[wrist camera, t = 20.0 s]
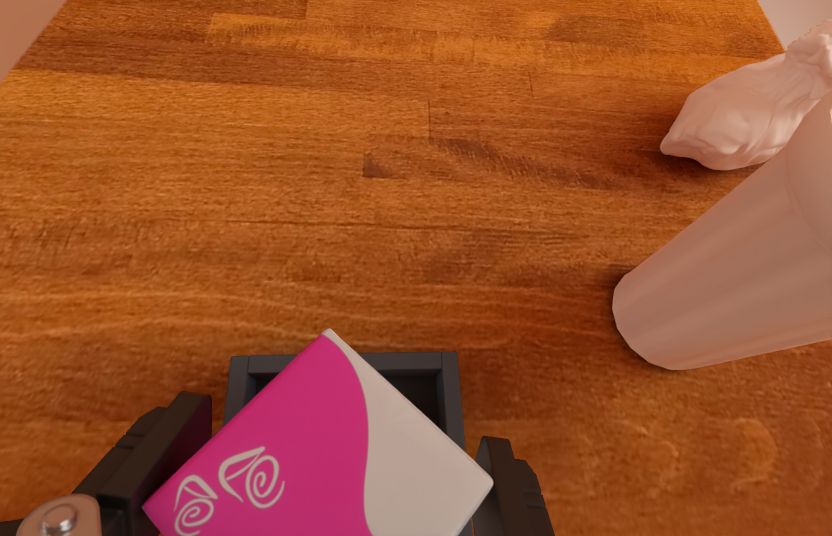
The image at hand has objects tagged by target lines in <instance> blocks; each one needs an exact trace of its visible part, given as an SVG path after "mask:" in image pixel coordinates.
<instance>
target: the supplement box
mask: <svg viewBox="0 0 832 536" xmlns="http://www.w3.org/2000/svg"><path fill="white" fill-rule="evenodd" d="M492 486H493V479H492V478H491V477H490V476H489V474H487V473H486V472H485V471H484V470H483V469H482V468H481V467H480V466H479V465H478V464H477V463H476V462H475V461H474V460H473V459H472V458H471V457H470V456H468V455H467V454H466V453H465V452H464V451H463V450H462V449H461V448H460V447H459V446H458V445H457V444H455V443H454V442H453V441H452V440H451V439H450V438H449V437H448V436H447V435H446V434H445V433H443V432H442V431H441V430H440V429H439V428H438V427H437V426H436V425H435V424H434V423H433V422H432V421H431V420H430V419H428V418H427V417H426V416H425V415H424V414H423V413H422V412H421V411H420V410H419V409H418V408H416V407H415V406H414V405H413V404H412V403H411V402H410V401H409V400H408V399H407V398H405V397H404V396H403V395H402V394H401V393H400V392H399V391H398V390H397V389H396V388H395V387H393V386H392V385H391V384H390V383H389V382H388V381H387V380H386V379H385V378H384V377H382V376H381V375H380V374H379V373H378V372H377V371H376V370H375V369H374V368H373V367H372V366H370V365H369V364H368V363H367V362H366V361H365V360H364V359H363V358H362V357H361V356H359V355H358V354H357V353H356V352H355V351H354V350H353V349H352V348H351V347H350V346H348V345H347V344H346V343H345V342H344V341H343V340H342V339H341V338H340V337H339V336H338V335H337V334H336V333H335V332H334V331H332V330H331V329H330V328H327V329H326V330H324V331H323V332H322V333H321V334H320V335H319V336H318V337H317V338H316V339H315V340H314V341H313V342H311V343H310V344H309V345H308V346H307V347H306V348H305V349H304V350H303V351H302V352H301V353H300V354H299V355H298V356H297V357H296V358H294V359H293V360H292V361H291V362H290V363H289V364H288V365H287V366H286V367H285V368H284V369H283V370H282V371H281V372H280V373H279V374H278V375H277V376H276V377H275V378H274V379H272V380H271V381H270V382H269V383H268V384H267V385H266V386H265V387H264V388H263V389H262V390H261V391H260V392H259V393H258V394H257V395H256V396H255V397H253V398H252V399H251V400H250V401H249V402H248V403H247V404H246V405H245V406H244V407H243V408H242V409H241V410H240V411H239V412H238V413H237V414H236V415H235V416H234V417H233V418H232V419H231V420H230V421H229V422H228V423H227V424H226V425H225V426H223V427H222V428H221V429H220V430H219V431H218V432H217V433H216V434H215V435H214V436H213V437H212V438H211V439H210V440H209V441H208V442H207V443H206V444H204V445H203V446H202V447H201V448H200V449H199V450H198V451H197V452H196V453H195V454H194V455H193V456H192V457H191V458H190V459H189V460H188V461H187V462H186V463H185V464H184V465H183V466H182V467H181V468H180V469H179V470H178V471H177V472H175V473H174V474H173V475H172V476H171V477H170V478H169V479H168V480H167V481H166V482H165V483H164V484H163V485H162V486H161V487H160V488H158V489H157V490H156V491H155V492H154V493H153V494H152V495H151V496H150V497H149V498H148V499H147V500H146V501H145V502H144V503H143V504H142V509H143V510H144V512H145V513H146V514H147V516H148V517H149V518H150V520H151V521H152V522H153V524H154V525H155V526H156V527H157V529H158V530H159V531H160V532H161V534H162V535H163V536H458V535H459V533H460V532H461V531H462V529H463V528H464V527H465V525H466V524H467V522H468V521H469V519H470V518H471V516H472V515H473V514H474V512H475V511H476V510H477V508H478V507H479V505H480V504H481V502H482V501H483V500H484V498H485V497H486V495H487V494H488V493H489V491H490V489H491V488H492Z"/></svg>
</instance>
